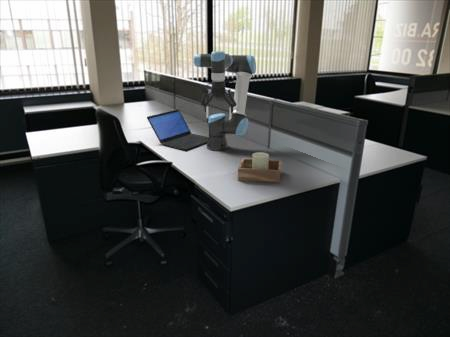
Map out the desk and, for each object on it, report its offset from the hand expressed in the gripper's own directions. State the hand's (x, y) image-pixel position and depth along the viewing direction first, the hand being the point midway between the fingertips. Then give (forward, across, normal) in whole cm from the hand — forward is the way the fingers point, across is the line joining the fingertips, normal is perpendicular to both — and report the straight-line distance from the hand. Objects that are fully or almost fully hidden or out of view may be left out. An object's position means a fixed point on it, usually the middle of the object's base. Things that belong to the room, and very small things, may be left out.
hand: (218, 117), depth 202 cm
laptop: (+29, -37, +43) cm, 64 cm away
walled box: (+29, +26, -15) cm, 42 cm away
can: (+28, +26, -15) cm, 41 cm away
